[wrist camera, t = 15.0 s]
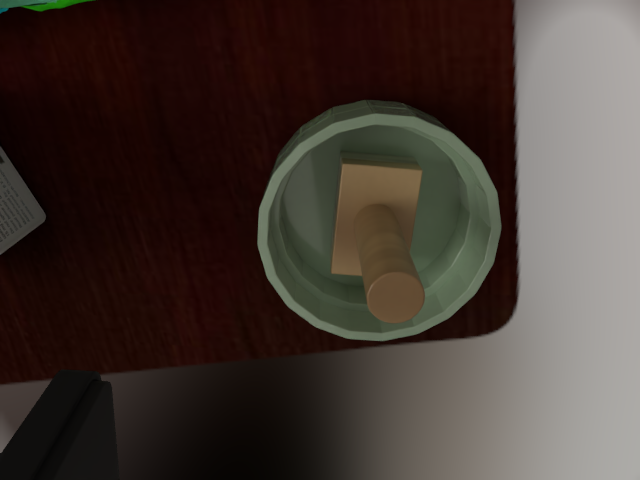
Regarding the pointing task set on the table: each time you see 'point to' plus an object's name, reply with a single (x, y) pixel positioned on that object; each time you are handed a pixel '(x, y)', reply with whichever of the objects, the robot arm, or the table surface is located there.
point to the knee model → (37, 4)
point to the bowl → (429, 229)
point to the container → (16, 206)
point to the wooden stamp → (378, 231)
